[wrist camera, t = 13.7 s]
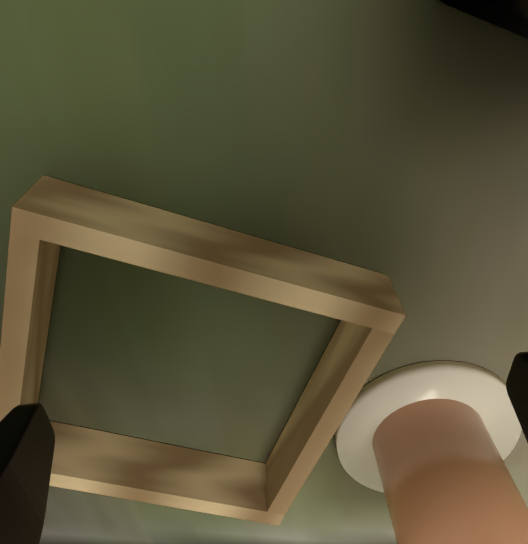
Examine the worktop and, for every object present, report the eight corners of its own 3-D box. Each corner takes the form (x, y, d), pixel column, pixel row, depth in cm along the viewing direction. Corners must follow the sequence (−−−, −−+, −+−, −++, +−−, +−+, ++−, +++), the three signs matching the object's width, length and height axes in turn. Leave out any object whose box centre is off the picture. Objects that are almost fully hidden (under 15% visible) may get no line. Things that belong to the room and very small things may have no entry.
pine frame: (387, 275, 22) (406, 315, 20) (275, 477, 29) (278, 525, 27) (43, 175, 19) (12, 206, 17) (14, 426, 27) (-11, 475, 24)
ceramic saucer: (553, 385, 26) (561, 396, 25) (456, 496, 31) (460, 508, 30) (383, 340, 24) (387, 351, 23) (308, 466, 29) (309, 478, 28)
